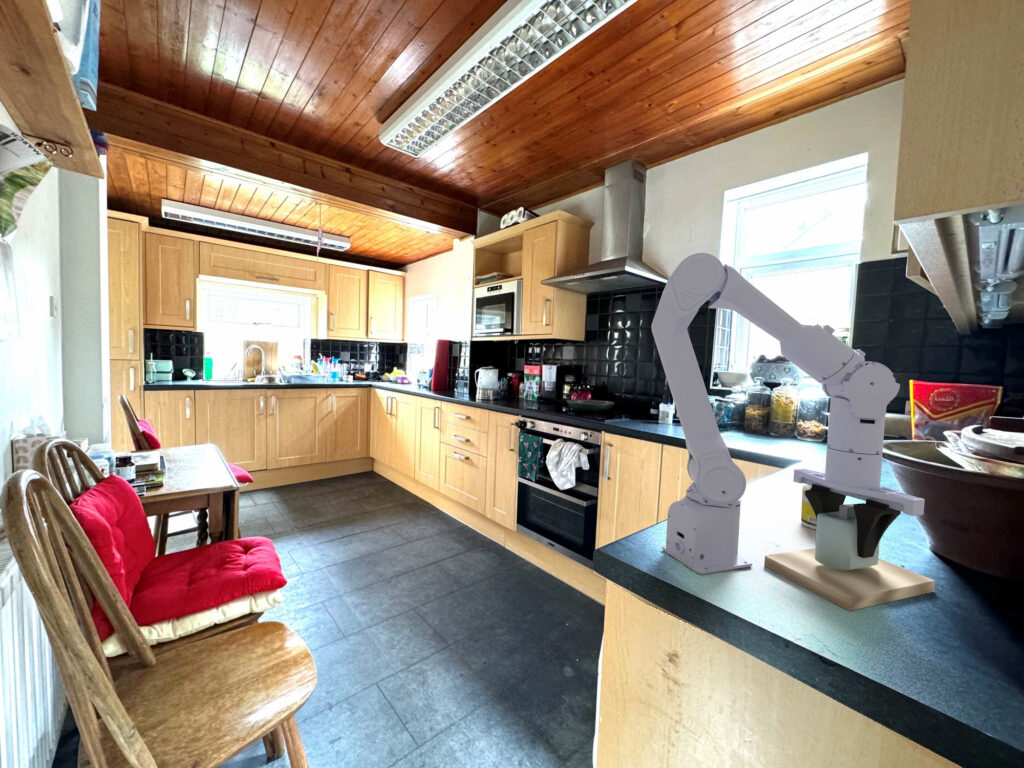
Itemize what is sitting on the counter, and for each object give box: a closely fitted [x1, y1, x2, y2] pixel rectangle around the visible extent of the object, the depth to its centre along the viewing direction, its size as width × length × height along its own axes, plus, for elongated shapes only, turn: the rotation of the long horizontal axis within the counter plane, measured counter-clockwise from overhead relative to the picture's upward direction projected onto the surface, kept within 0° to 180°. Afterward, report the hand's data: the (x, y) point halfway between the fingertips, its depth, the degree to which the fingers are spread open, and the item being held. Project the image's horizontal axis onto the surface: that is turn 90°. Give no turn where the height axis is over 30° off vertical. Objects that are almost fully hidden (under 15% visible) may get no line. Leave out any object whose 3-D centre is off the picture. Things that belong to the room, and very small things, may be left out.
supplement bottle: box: [800, 471, 824, 530], centre depth 73 cm, size 5×5×10 cm
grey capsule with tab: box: [814, 503, 881, 570], centre depth 54 cm, size 9×4×8 cm, turn 108°
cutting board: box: [763, 547, 936, 612], centre depth 55 cm, size 16×11×2 cm
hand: (846, 548), depth 54 cm, fingers closed on grey capsule with tab, 4 cm apart
